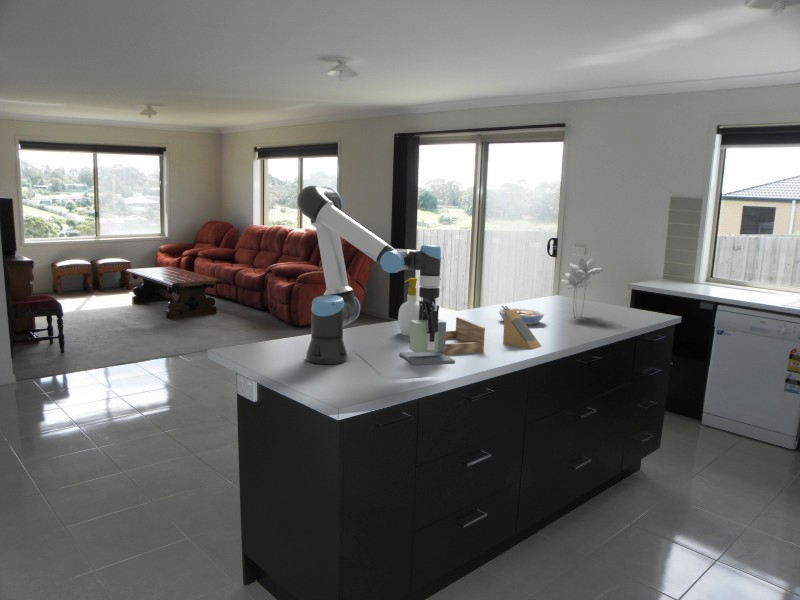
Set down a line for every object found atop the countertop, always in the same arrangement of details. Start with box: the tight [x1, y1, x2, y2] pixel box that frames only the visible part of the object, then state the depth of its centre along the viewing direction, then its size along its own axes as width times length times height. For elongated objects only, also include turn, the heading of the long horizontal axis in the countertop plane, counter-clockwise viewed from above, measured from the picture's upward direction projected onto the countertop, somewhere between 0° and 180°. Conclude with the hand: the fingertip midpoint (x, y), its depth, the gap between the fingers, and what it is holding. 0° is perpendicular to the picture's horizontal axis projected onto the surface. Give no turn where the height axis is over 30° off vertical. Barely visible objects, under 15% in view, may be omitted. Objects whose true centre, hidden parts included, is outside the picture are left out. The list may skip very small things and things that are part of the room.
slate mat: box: [399, 351, 456, 366], centre depth 225 cm, size 16×16×1 cm
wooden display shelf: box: [439, 316, 486, 355], centre depth 247 cm, size 18×25×10 cm
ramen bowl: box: [498, 305, 545, 326], centre depth 300 cm, size 25×23×8 cm
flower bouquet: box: [560, 256, 604, 318], centre depth 315 cm, size 17×34×21 cm
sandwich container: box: [502, 310, 542, 350], centre depth 251 cm, size 9×15×15 cm, turn 48°
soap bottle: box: [397, 277, 419, 337], centre depth 264 cm, size 14×9×26 cm, turn 45°
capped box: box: [409, 318, 447, 353], centre depth 224 cm, size 12×6×11 cm, turn 110°
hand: (427, 347), depth 224 cm, fingers closed on capped box, 6 cm apart
